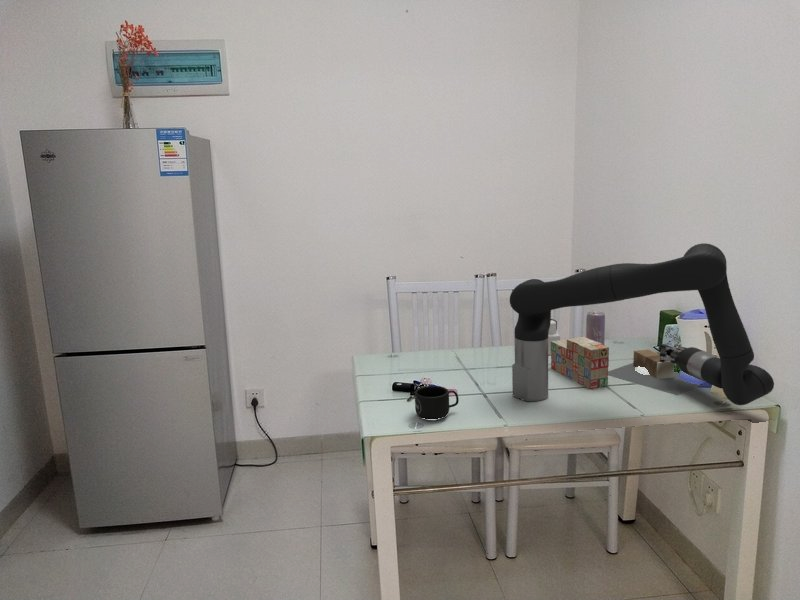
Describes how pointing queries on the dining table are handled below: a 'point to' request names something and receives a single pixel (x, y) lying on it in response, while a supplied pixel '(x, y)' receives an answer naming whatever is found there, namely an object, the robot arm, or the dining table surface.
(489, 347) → the dining table surface
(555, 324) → the medicine bottle
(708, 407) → the dining table surface
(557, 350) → the stack of blocks
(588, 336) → the beverage can
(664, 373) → the wooden block
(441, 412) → the mug
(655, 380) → the mat
